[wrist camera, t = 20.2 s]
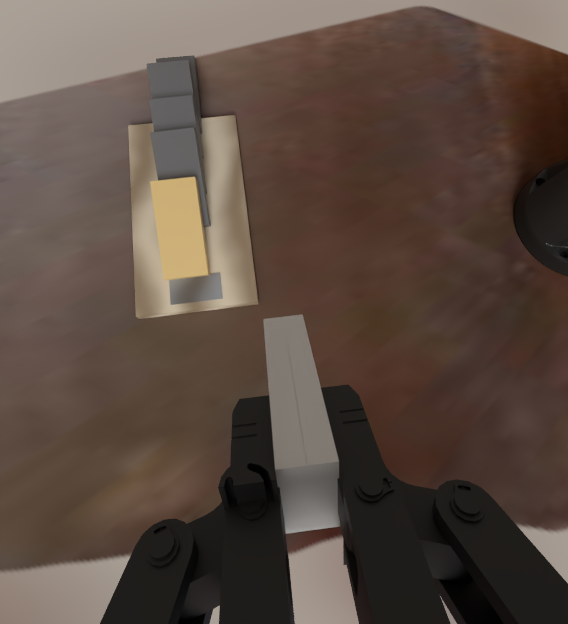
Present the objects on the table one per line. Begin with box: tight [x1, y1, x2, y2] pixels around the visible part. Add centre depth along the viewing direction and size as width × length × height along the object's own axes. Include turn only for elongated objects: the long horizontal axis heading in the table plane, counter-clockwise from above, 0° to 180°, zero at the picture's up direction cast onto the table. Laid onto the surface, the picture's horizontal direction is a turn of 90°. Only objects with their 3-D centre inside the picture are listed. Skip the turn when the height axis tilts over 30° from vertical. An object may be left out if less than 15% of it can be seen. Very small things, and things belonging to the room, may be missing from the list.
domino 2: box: [147, 60, 204, 158], centre depth 47 cm, size 5×2×11 cm
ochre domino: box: [150, 177, 210, 280], centre depth 43 cm, size 5×2×11 cm
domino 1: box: [156, 56, 203, 134], centre depth 50 cm, size 5×2×11 cm
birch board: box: [128, 115, 258, 319], centre depth 47 cm, size 14×26×1 cm, turn 8°
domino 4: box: [150, 127, 211, 227], centre depth 44 cm, size 5×2×11 cm
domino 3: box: [149, 95, 207, 194], centre depth 46 cm, size 5×2×11 cm
